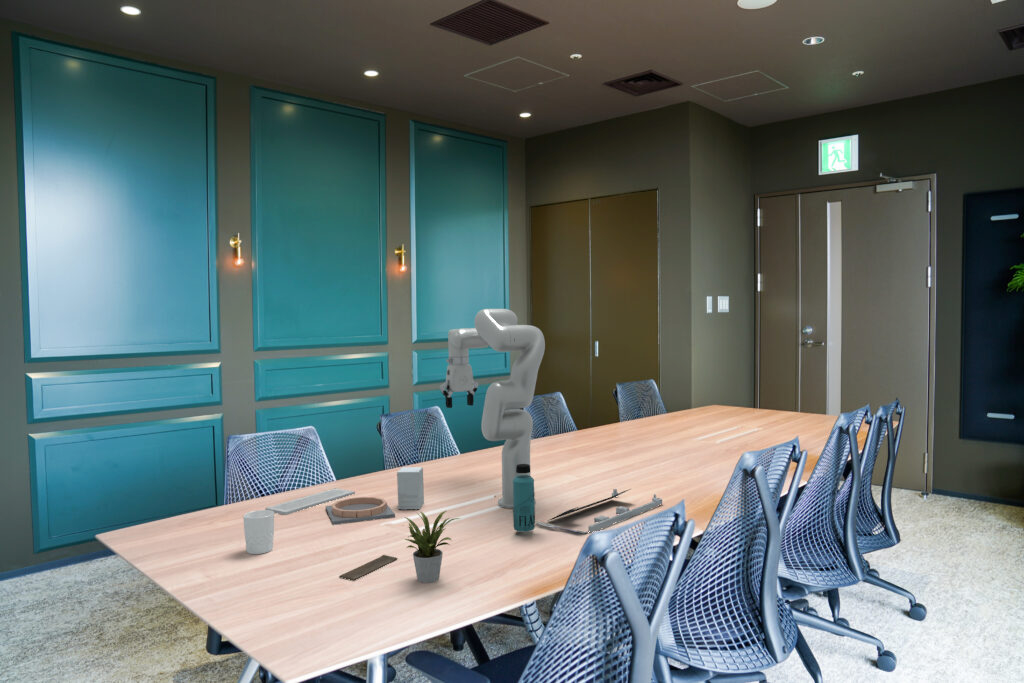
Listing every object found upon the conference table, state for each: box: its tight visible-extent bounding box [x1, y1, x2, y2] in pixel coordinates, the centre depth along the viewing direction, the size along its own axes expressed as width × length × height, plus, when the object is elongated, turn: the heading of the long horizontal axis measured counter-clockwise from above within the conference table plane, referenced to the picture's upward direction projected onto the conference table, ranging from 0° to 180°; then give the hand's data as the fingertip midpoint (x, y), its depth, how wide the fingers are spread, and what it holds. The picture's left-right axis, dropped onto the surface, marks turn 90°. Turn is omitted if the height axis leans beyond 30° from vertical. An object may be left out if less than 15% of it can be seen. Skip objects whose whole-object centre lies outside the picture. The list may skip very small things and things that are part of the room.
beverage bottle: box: [512, 464, 536, 533], centre depth 196 cm, size 6×7×20 cm
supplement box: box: [396, 466, 425, 510], centre depth 226 cm, size 7×7×13 cm
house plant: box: [401, 510, 461, 584], centre depth 163 cm, size 14×14×16 cm
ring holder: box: [325, 496, 396, 525], centre depth 220 cm, size 19×19×3 cm
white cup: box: [242, 509, 275, 555], centre depth 185 cm, size 8×8×10 cm
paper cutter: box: [535, 488, 663, 534], centre depth 214 cm, size 18×45×6 cm, turn 137°
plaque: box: [264, 487, 356, 516], centre depth 235 cm, size 30×2×10 cm
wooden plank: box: [338, 554, 399, 581], centre depth 171 cm, size 17×1×5 cm
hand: (459, 406), depth 259 cm, fingers open, 9 cm apart
